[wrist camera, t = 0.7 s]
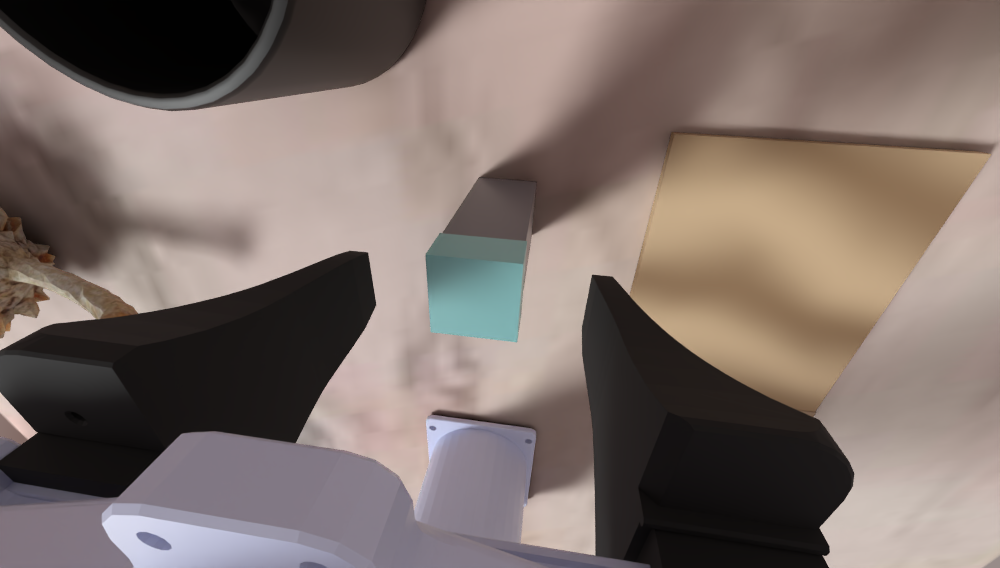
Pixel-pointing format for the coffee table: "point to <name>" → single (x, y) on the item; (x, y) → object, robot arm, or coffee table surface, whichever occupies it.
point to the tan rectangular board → (788, 250)
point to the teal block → (482, 262)
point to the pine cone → (43, 280)
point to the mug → (213, 45)
